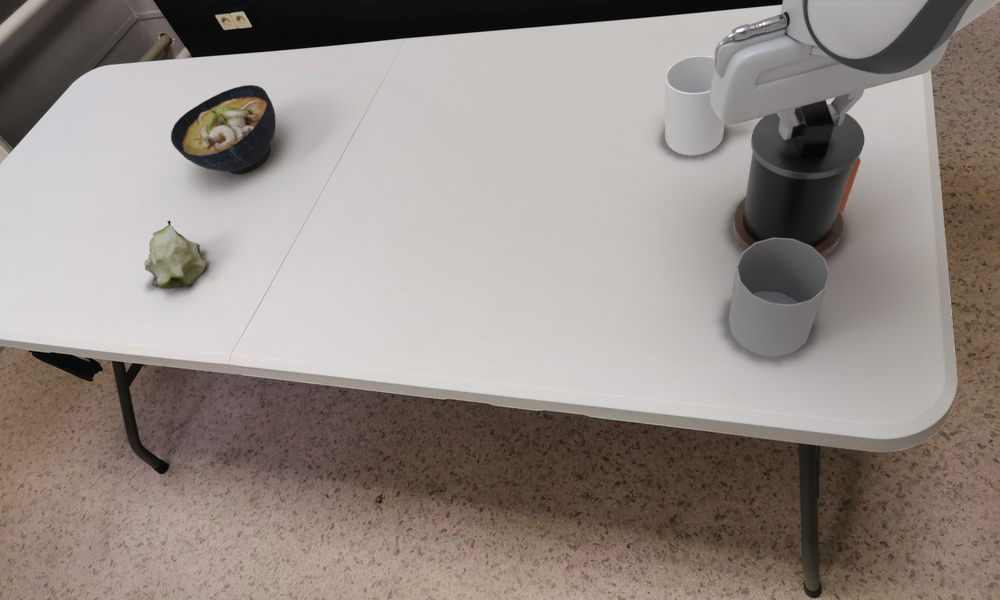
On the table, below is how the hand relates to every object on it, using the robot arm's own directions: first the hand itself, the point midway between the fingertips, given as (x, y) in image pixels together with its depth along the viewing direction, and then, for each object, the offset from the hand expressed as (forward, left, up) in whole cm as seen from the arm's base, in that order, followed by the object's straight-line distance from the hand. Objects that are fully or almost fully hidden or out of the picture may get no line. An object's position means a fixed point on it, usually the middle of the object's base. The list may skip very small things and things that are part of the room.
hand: (809, 129), depth 62 cm
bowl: (+87, +7, -16) cm, 89 cm away
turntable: (0, 0, -16) cm, 16 cm away
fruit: (+80, +31, -16) cm, 87 cm away
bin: (0, 0, -14) cm, 14 cm away
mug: (+13, -14, -16) cm, 25 cm away
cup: (-1, +14, -16) cm, 21 cm away
